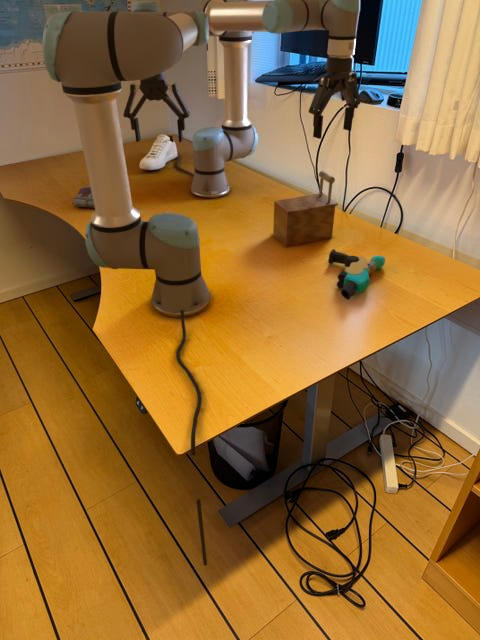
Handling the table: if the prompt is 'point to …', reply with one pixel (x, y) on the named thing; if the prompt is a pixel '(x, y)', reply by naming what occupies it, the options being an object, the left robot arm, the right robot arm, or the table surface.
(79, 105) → the left robot arm
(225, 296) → the table surface
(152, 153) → the sneaker
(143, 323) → the table surface
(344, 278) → the toy gun
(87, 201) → the toy gun
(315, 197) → the lid
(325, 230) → the chest
